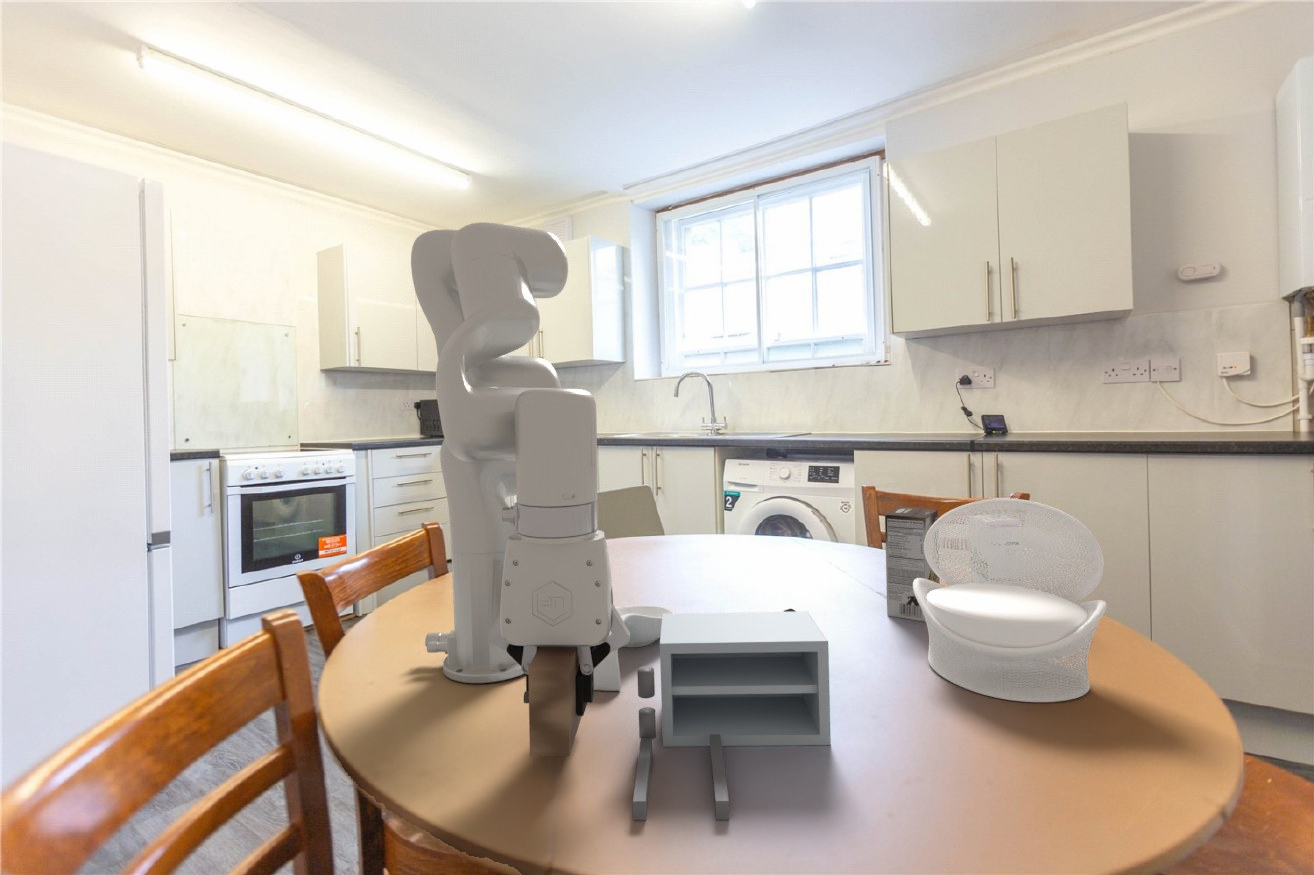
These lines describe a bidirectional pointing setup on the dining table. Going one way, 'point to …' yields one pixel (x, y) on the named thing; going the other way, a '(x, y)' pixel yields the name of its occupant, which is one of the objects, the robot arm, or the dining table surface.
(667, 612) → the spoon rest
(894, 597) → the coffee box
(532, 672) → the door
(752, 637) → the cabinet
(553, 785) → the dining table surface
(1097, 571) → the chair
